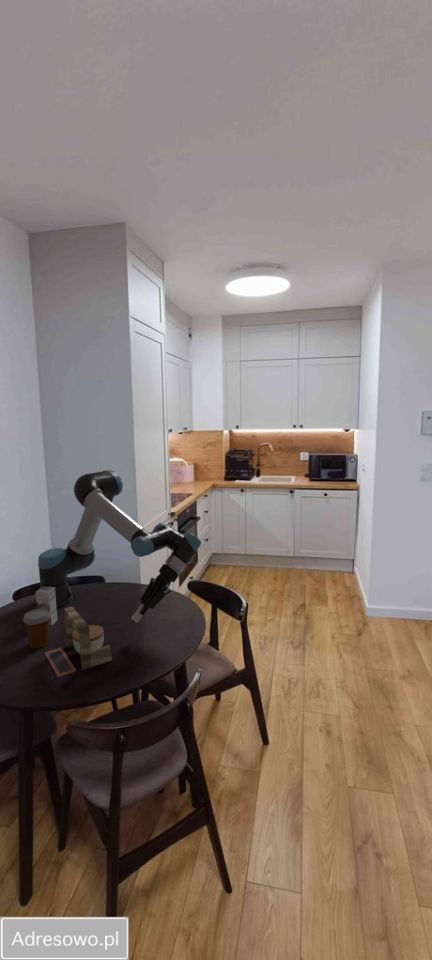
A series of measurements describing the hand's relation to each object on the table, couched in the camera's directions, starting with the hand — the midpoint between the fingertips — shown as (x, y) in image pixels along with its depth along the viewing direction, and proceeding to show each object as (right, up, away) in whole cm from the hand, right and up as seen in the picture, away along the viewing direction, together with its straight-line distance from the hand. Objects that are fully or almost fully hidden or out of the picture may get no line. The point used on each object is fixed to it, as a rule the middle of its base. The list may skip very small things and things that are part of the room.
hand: (134, 620), depth 169 cm
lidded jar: (-14, -9, -8) cm, 19 cm away
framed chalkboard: (-23, -10, -14) cm, 29 cm away
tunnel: (-15, -9, -9) cm, 19 cm away
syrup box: (-38, -6, +15) cm, 41 cm away
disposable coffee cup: (-35, -8, -2) cm, 36 cm away
